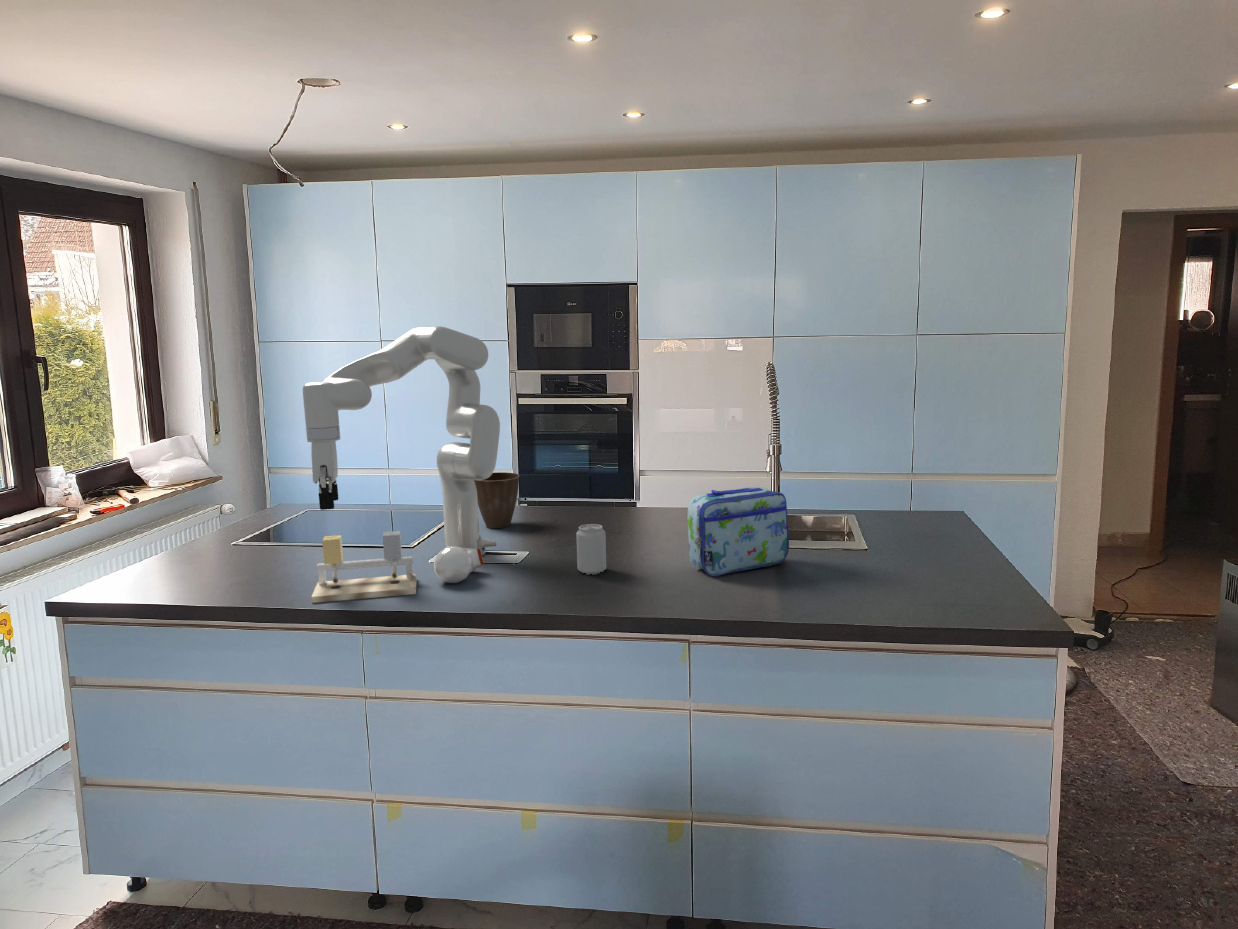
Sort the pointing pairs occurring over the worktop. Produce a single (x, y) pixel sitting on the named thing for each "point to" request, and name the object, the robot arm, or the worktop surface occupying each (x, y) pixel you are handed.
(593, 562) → the can
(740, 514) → the lunch box
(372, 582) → the hole plate
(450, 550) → the potion bottle
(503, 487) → the plant pot
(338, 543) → the block
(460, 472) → the robot arm
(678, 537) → the worktop surface
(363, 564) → the trammel frame
